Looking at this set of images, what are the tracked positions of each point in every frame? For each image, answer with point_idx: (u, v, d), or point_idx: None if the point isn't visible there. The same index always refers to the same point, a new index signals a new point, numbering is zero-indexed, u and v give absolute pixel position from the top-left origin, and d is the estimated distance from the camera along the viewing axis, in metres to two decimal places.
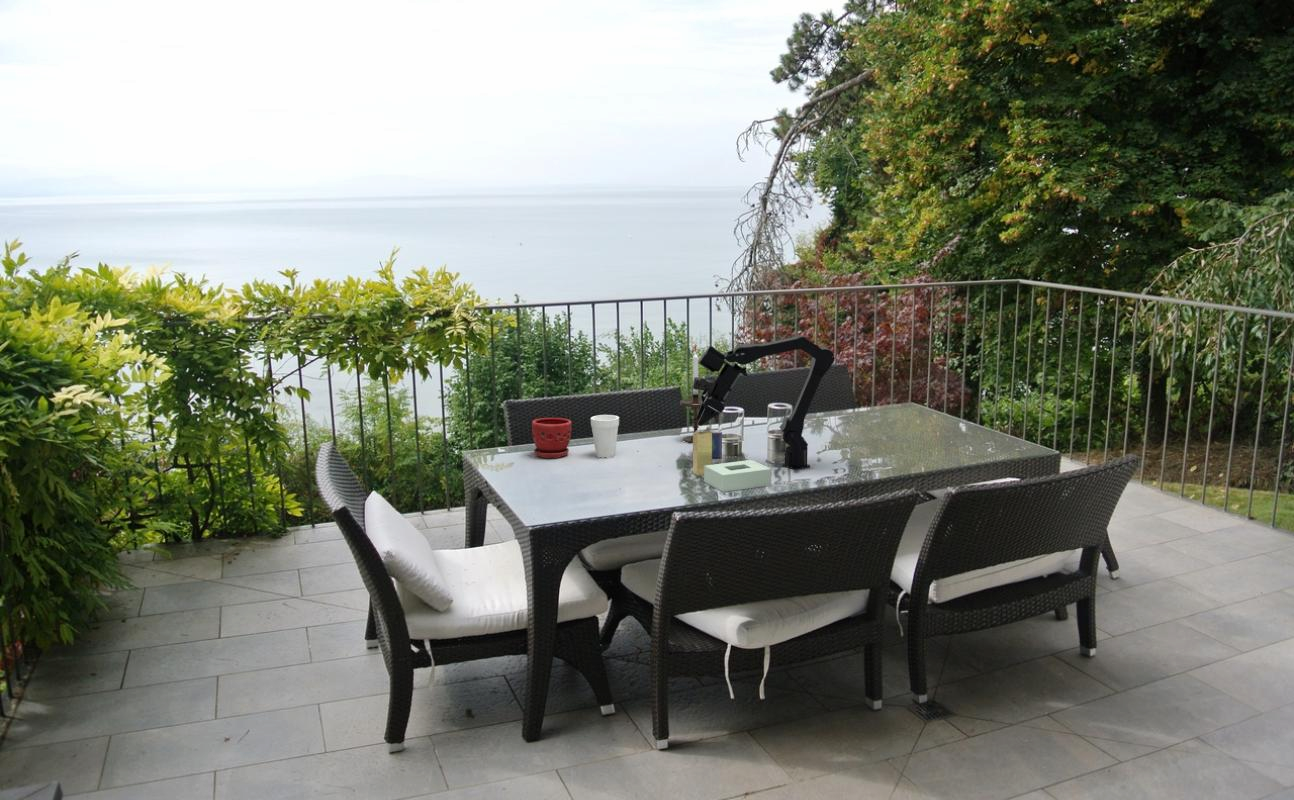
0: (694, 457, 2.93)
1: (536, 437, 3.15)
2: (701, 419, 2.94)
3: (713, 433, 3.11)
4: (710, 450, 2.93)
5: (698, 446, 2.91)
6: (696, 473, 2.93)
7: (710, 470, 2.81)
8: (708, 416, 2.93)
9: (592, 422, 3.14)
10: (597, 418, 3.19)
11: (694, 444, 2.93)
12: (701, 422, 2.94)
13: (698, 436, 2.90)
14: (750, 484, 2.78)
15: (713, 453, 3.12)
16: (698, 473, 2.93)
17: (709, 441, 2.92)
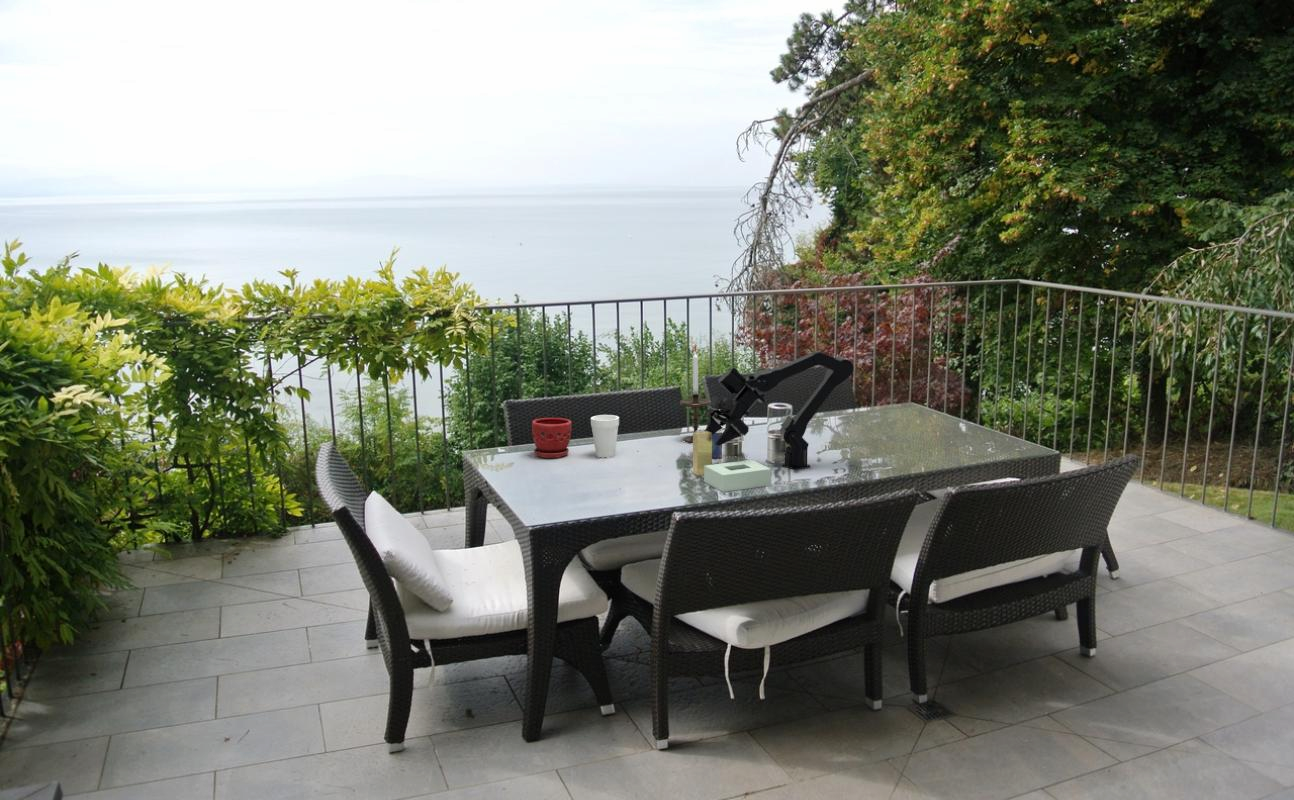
0: (694, 457, 2.93)
1: (536, 437, 3.15)
2: (721, 440, 2.89)
3: None
4: (710, 450, 2.93)
5: (698, 446, 2.91)
6: (696, 473, 2.93)
7: (710, 470, 2.81)
8: (728, 437, 2.90)
9: (592, 422, 3.14)
10: (597, 418, 3.19)
11: (694, 444, 2.93)
12: (720, 443, 2.90)
13: (698, 436, 2.90)
14: (750, 484, 2.78)
15: (713, 453, 3.12)
16: (698, 473, 2.93)
17: (709, 441, 2.92)
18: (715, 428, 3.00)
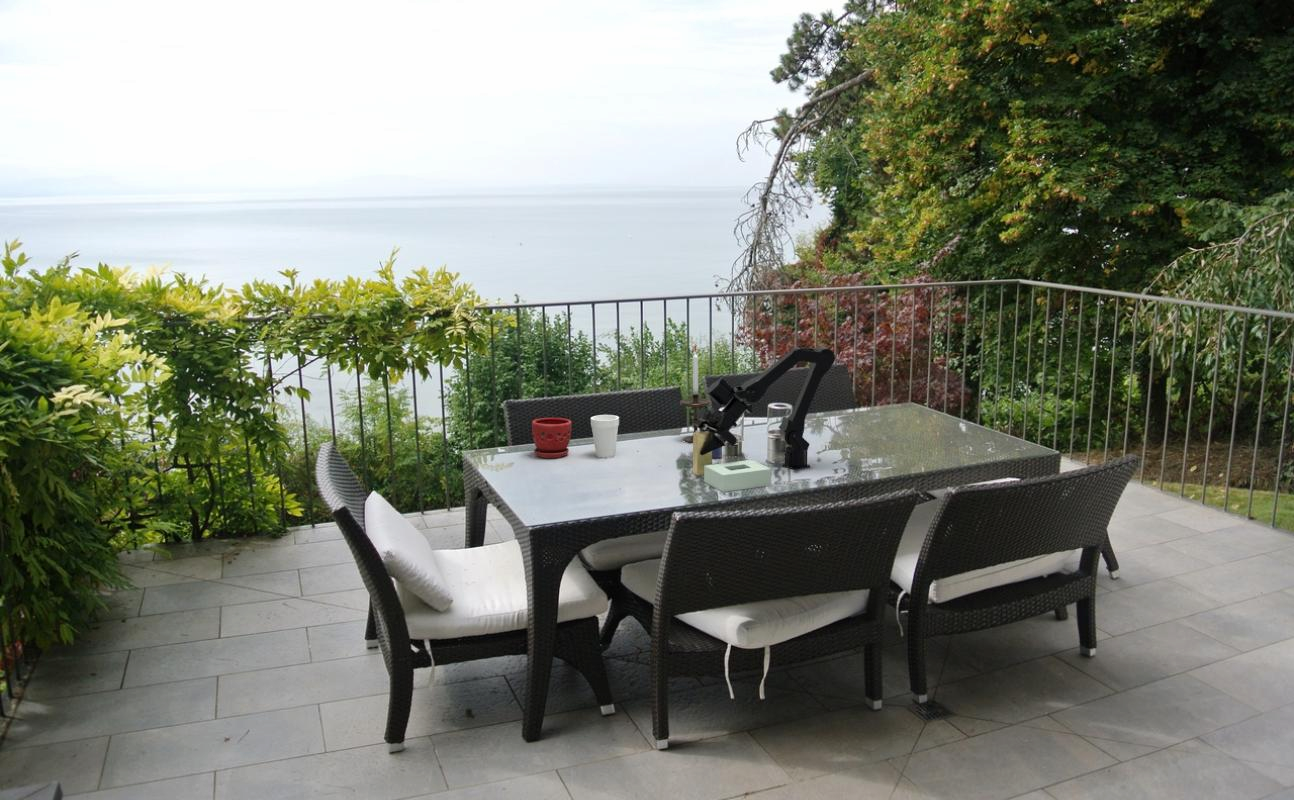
0: (694, 457, 2.93)
1: (536, 437, 3.15)
2: (705, 449, 2.91)
3: None
4: None
5: (698, 446, 2.91)
6: (696, 473, 2.93)
7: (710, 470, 2.81)
8: (712, 447, 2.91)
9: (592, 422, 3.14)
10: (597, 418, 3.19)
11: (694, 444, 2.92)
12: (704, 452, 2.91)
13: (698, 436, 2.90)
14: (750, 484, 2.78)
15: (713, 453, 3.12)
16: (698, 473, 2.93)
17: None
18: None
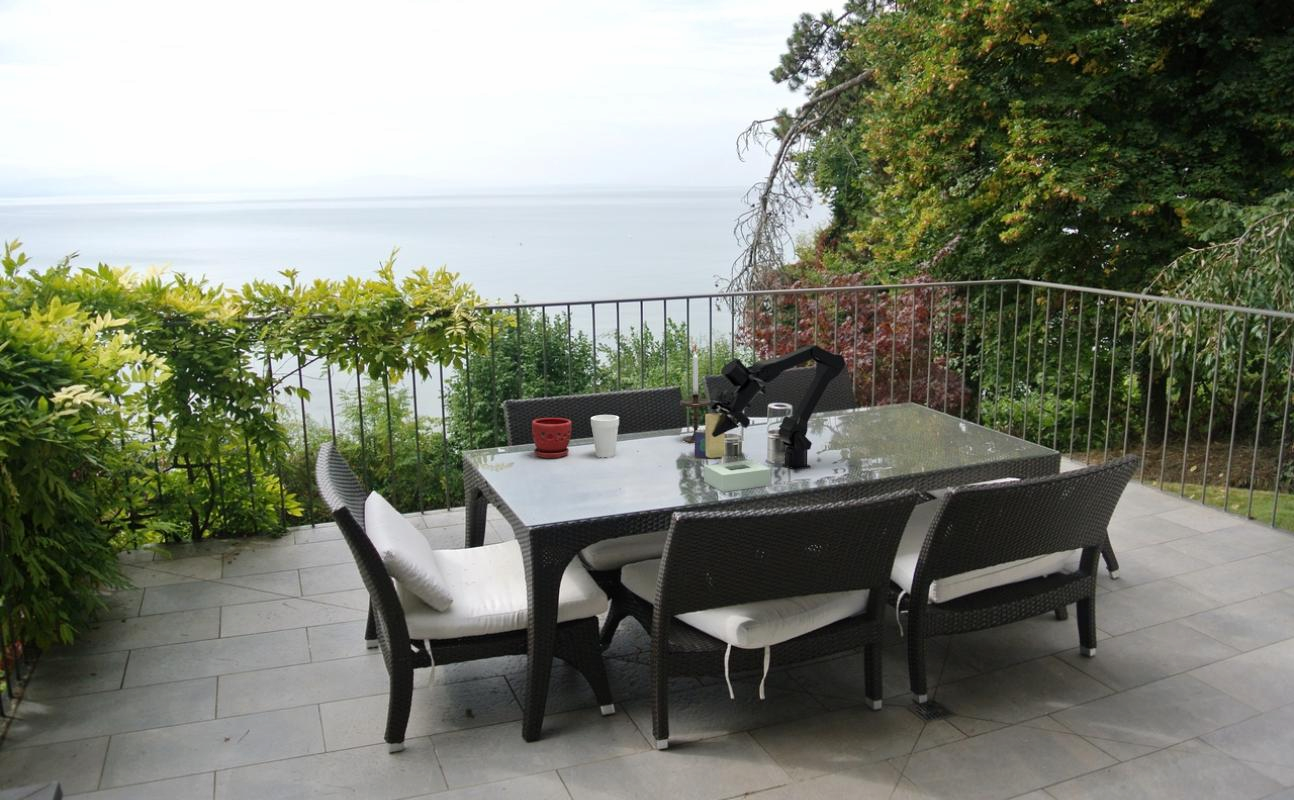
0: (706, 439, 2.88)
1: (536, 437, 3.15)
2: (717, 431, 2.86)
3: None
4: None
5: (710, 428, 2.86)
6: (708, 455, 2.88)
7: (710, 470, 2.81)
8: (725, 428, 2.86)
9: (592, 422, 3.14)
10: (597, 418, 3.19)
11: (706, 426, 2.87)
12: (716, 434, 2.86)
13: (710, 418, 2.85)
14: (750, 484, 2.78)
15: None
16: (710, 455, 2.87)
17: None
18: None
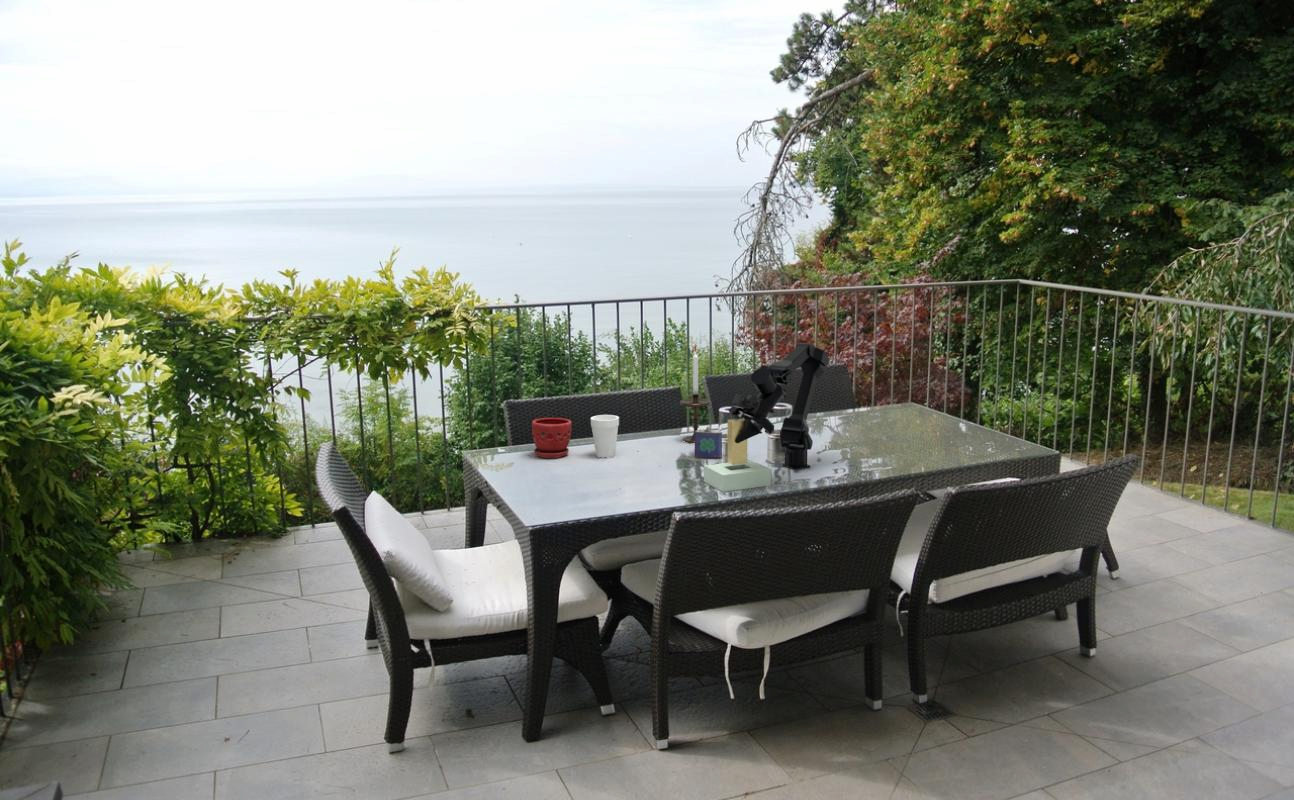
0: (729, 445, 2.81)
1: (536, 437, 3.15)
2: (740, 437, 2.78)
3: (713, 433, 3.11)
4: None
5: (733, 434, 2.78)
6: (731, 462, 2.80)
7: (710, 470, 2.81)
8: (748, 434, 2.79)
9: (592, 422, 3.14)
10: (597, 418, 3.19)
11: (729, 432, 2.80)
12: (739, 440, 2.79)
13: (733, 424, 2.78)
14: (750, 484, 2.78)
15: (713, 453, 3.12)
16: (733, 462, 2.80)
17: None
18: None
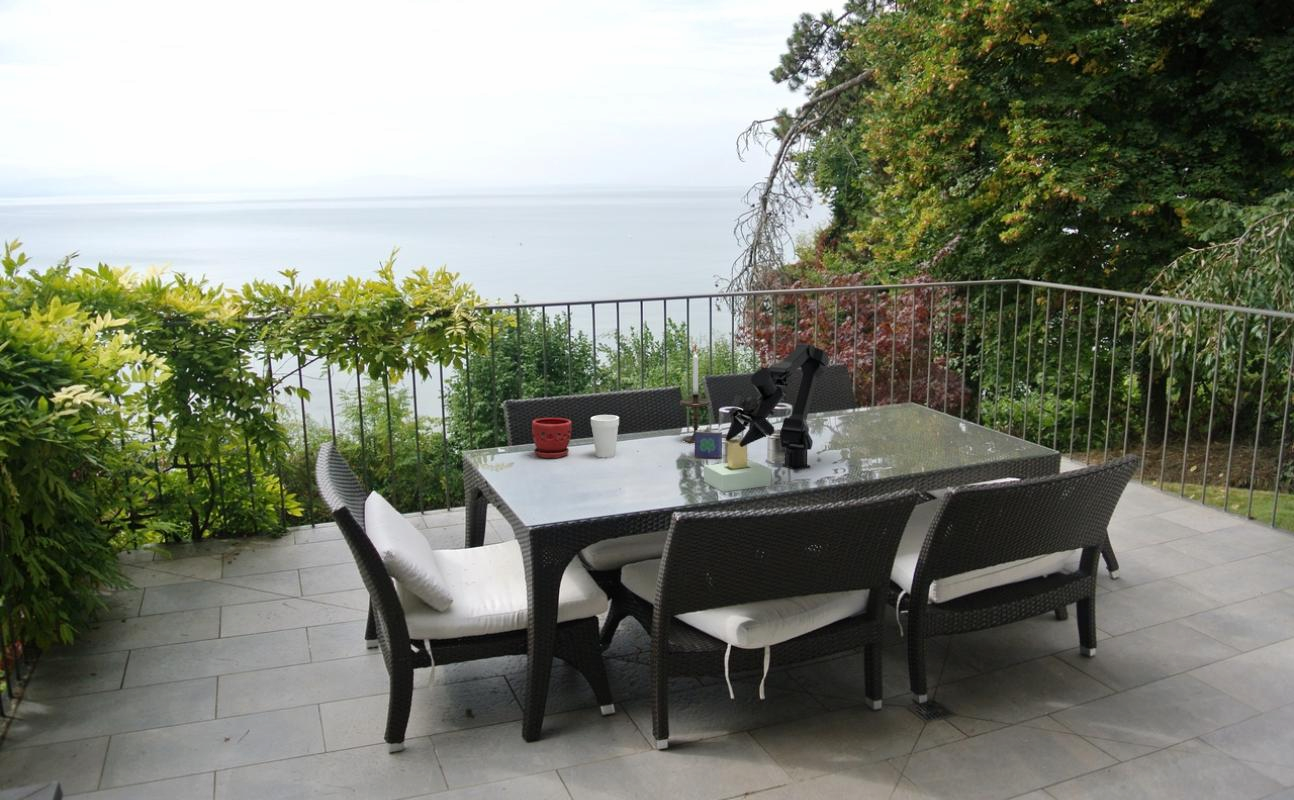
0: (729, 466, 2.82)
1: (536, 437, 3.15)
2: (744, 440, 2.76)
3: (713, 433, 3.11)
4: (745, 459, 2.81)
5: (733, 455, 2.79)
6: None
7: (710, 470, 2.81)
8: (752, 438, 2.76)
9: (592, 422, 3.14)
10: (597, 418, 3.19)
11: (729, 453, 2.81)
12: (743, 444, 2.76)
13: (733, 445, 2.79)
14: (750, 484, 2.78)
15: (713, 453, 3.12)
16: None
17: (744, 450, 2.81)
18: (738, 428, 2.86)
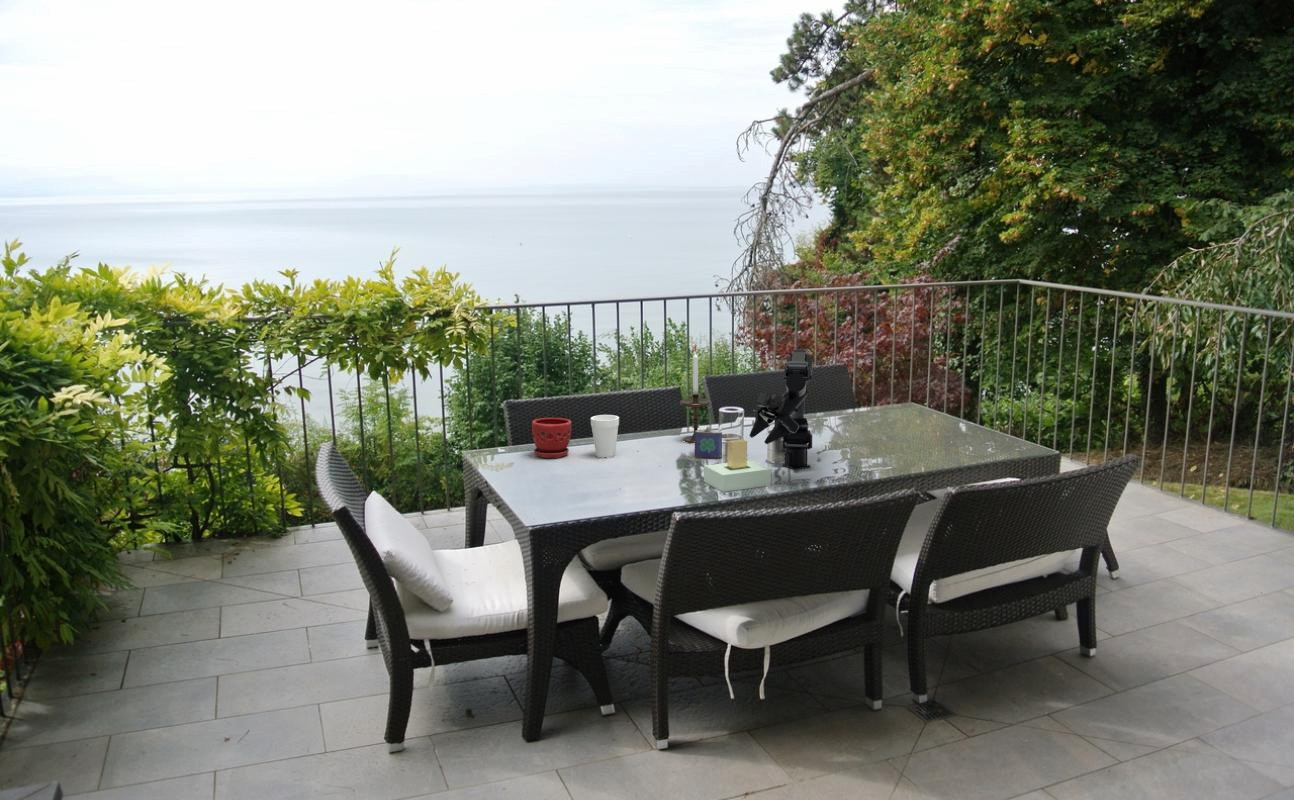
0: (729, 466, 2.82)
1: (536, 437, 3.15)
2: (769, 437, 2.79)
3: (713, 433, 3.11)
4: (745, 459, 2.81)
5: (733, 455, 2.79)
6: None
7: (710, 470, 2.81)
8: (777, 435, 2.79)
9: (592, 422, 3.14)
10: (597, 418, 3.19)
11: (729, 453, 2.81)
12: (769, 441, 2.79)
13: (733, 445, 2.79)
14: (750, 484, 2.78)
15: (713, 453, 3.12)
16: None
17: (744, 450, 2.81)
18: (762, 425, 2.89)
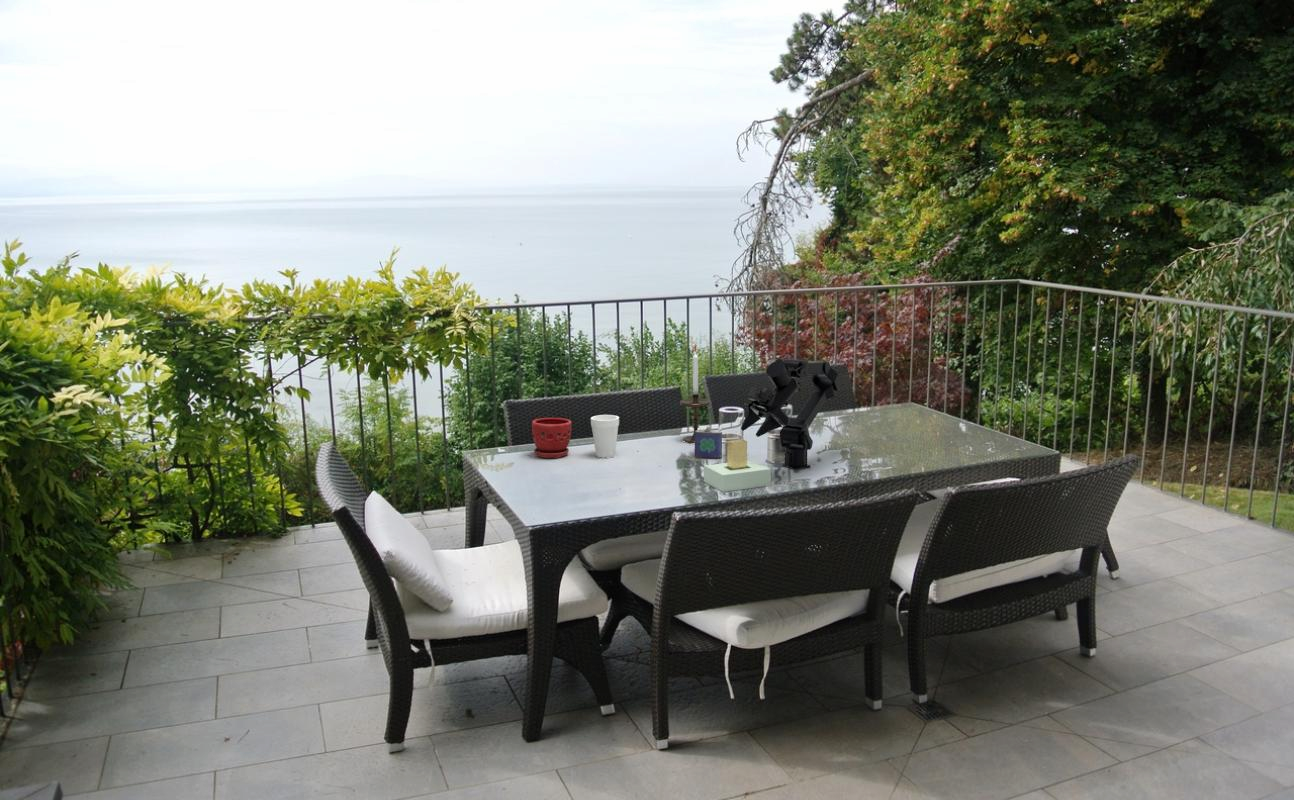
0: (729, 466, 2.82)
1: (536, 437, 3.15)
2: (761, 430, 2.84)
3: (713, 433, 3.11)
4: (745, 459, 2.81)
5: (733, 455, 2.79)
6: None
7: (710, 470, 2.81)
8: (768, 428, 2.84)
9: (592, 422, 3.14)
10: (597, 418, 3.19)
11: (729, 453, 2.81)
12: (760, 433, 2.84)
13: (733, 445, 2.79)
14: (750, 484, 2.78)
15: (713, 453, 3.12)
16: None
17: (744, 450, 2.81)
18: (753, 419, 2.94)
